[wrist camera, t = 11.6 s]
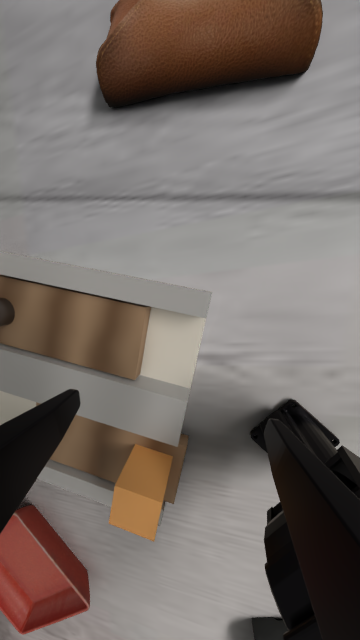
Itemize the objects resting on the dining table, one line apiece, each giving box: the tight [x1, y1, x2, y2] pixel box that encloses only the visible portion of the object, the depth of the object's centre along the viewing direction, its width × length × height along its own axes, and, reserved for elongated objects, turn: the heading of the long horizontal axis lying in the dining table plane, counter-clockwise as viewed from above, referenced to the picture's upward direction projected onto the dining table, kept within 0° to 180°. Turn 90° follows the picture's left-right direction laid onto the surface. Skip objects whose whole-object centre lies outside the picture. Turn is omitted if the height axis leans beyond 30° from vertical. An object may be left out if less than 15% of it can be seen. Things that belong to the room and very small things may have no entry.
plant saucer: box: [0, 505, 90, 634], centre depth 29 cm, size 18×18×3 cm
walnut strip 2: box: [36, 402, 189, 504], centre depth 16 cm, size 19×8×13 cm, turn 79°
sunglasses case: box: [96, 0, 323, 108], centre depth 15 cm, size 18×7×7 cm
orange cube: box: [109, 444, 173, 541], centre depth 18 cm, size 4×4×4 cm
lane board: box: [0, 251, 212, 526], centre depth 22 cm, size 28×27×3 cm
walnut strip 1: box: [0, 275, 151, 380], centre depth 15 cm, size 19×8×13 cm, turn 79°
